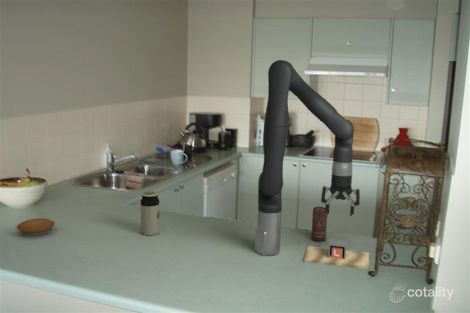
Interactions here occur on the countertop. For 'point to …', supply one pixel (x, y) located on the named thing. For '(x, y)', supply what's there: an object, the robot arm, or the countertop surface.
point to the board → (350, 260)
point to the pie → (36, 227)
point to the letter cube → (337, 252)
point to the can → (319, 224)
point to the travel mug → (150, 213)
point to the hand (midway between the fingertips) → (339, 214)
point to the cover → (337, 243)
